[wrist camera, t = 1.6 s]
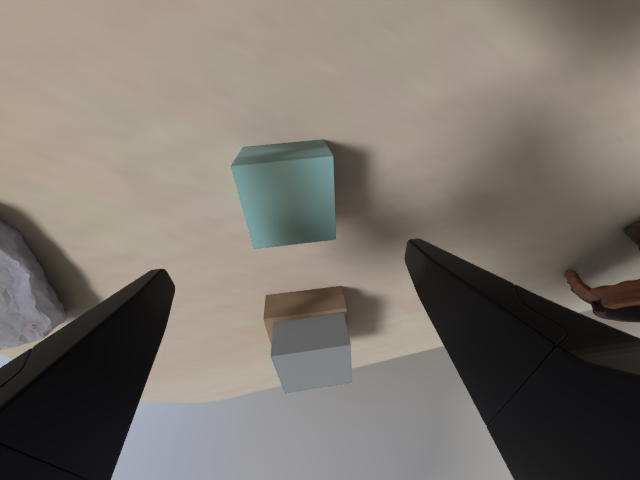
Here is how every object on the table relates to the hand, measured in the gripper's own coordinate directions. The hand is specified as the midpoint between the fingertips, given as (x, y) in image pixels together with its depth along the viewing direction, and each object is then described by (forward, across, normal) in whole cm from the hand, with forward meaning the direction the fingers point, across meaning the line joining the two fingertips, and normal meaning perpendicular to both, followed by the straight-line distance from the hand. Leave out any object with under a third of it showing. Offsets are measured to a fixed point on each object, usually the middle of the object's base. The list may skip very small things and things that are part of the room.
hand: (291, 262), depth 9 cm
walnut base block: (+9, 0, +14) cm, 17 cm away
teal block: (+9, 0, 0) cm, 9 cm away
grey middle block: (+6, 0, +14) cm, 15 cm away
